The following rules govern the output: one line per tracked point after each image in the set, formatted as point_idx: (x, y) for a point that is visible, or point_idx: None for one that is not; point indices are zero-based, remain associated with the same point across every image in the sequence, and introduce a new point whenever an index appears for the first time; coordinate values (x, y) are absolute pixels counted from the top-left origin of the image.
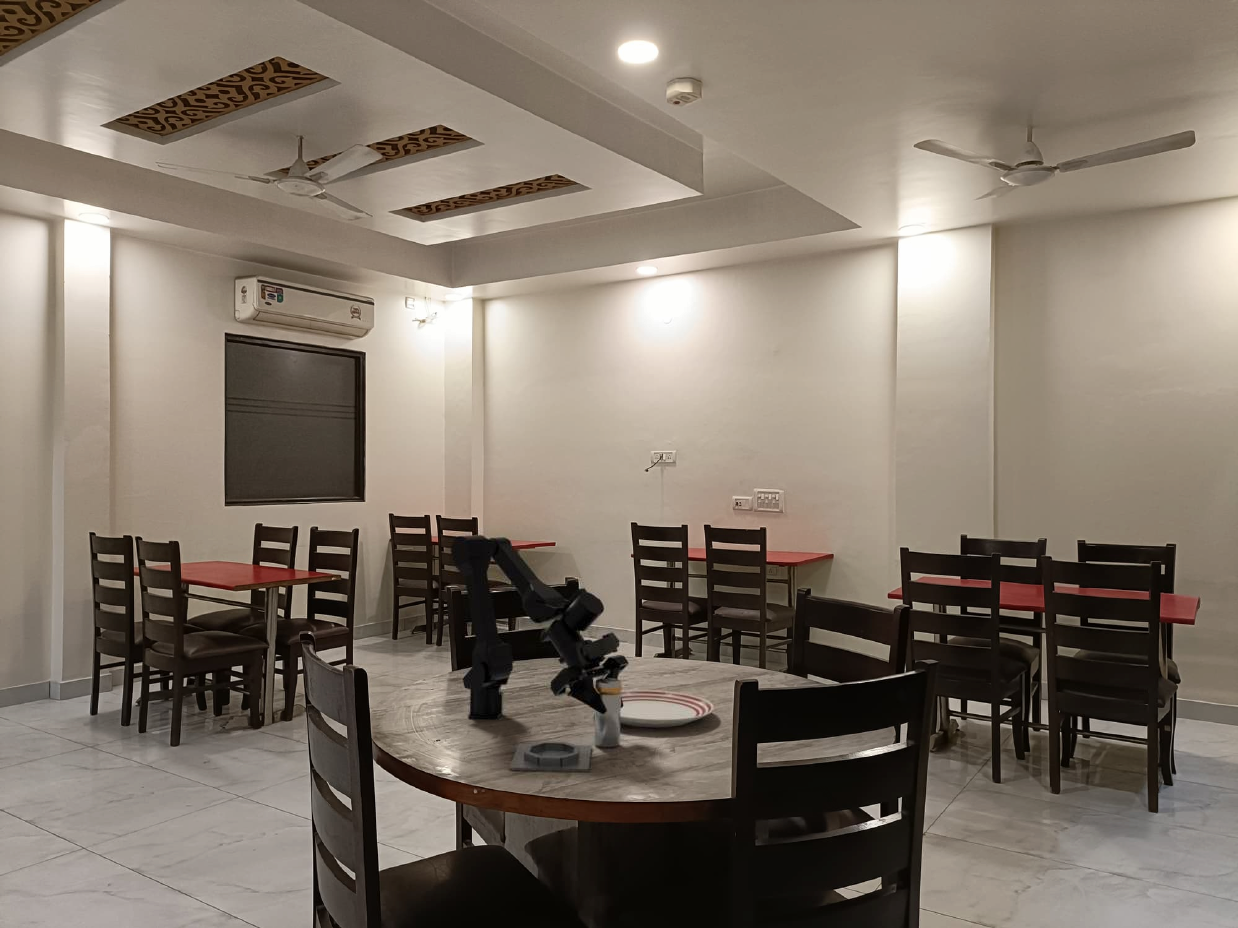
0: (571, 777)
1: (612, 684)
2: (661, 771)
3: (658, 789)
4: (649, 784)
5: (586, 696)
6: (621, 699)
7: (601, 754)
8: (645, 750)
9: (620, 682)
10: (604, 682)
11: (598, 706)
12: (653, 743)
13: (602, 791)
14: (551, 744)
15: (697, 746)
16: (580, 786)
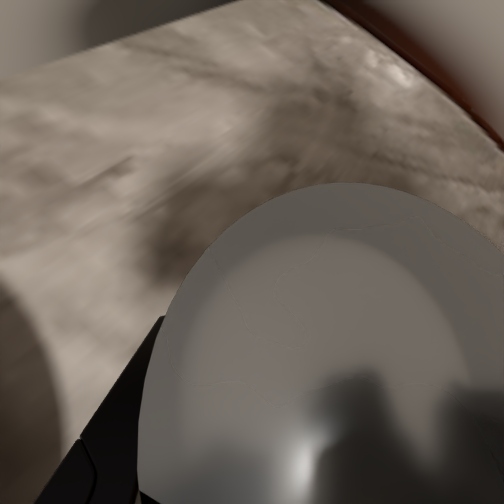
0: (454, 211)
1: (433, 207)
2: (276, 105)
3: (348, 65)
4: (346, 86)
5: None
6: (151, 341)
7: None
8: (181, 224)
9: (281, 199)
10: (495, 365)
11: None
12: (96, 255)
13: (435, 125)
14: None
15: (20, 140)
16: (458, 166)
